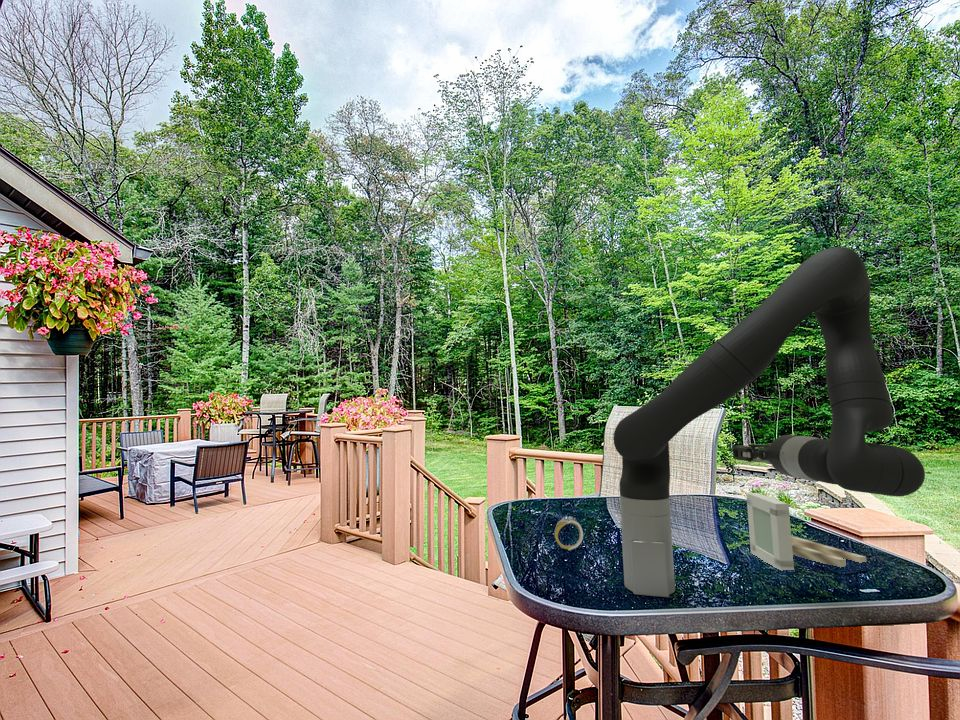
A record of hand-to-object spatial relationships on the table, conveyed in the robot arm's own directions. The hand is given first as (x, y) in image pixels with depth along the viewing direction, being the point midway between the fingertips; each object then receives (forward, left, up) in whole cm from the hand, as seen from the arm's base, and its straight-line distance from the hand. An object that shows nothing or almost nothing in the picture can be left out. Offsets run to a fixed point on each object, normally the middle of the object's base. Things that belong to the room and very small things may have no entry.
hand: (757, 450), depth 98 cm
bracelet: (+8, +41, -25) cm, 49 cm away
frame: (+8, -3, -25) cm, 27 cm away
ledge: (+13, -12, -25) cm, 31 cm away
